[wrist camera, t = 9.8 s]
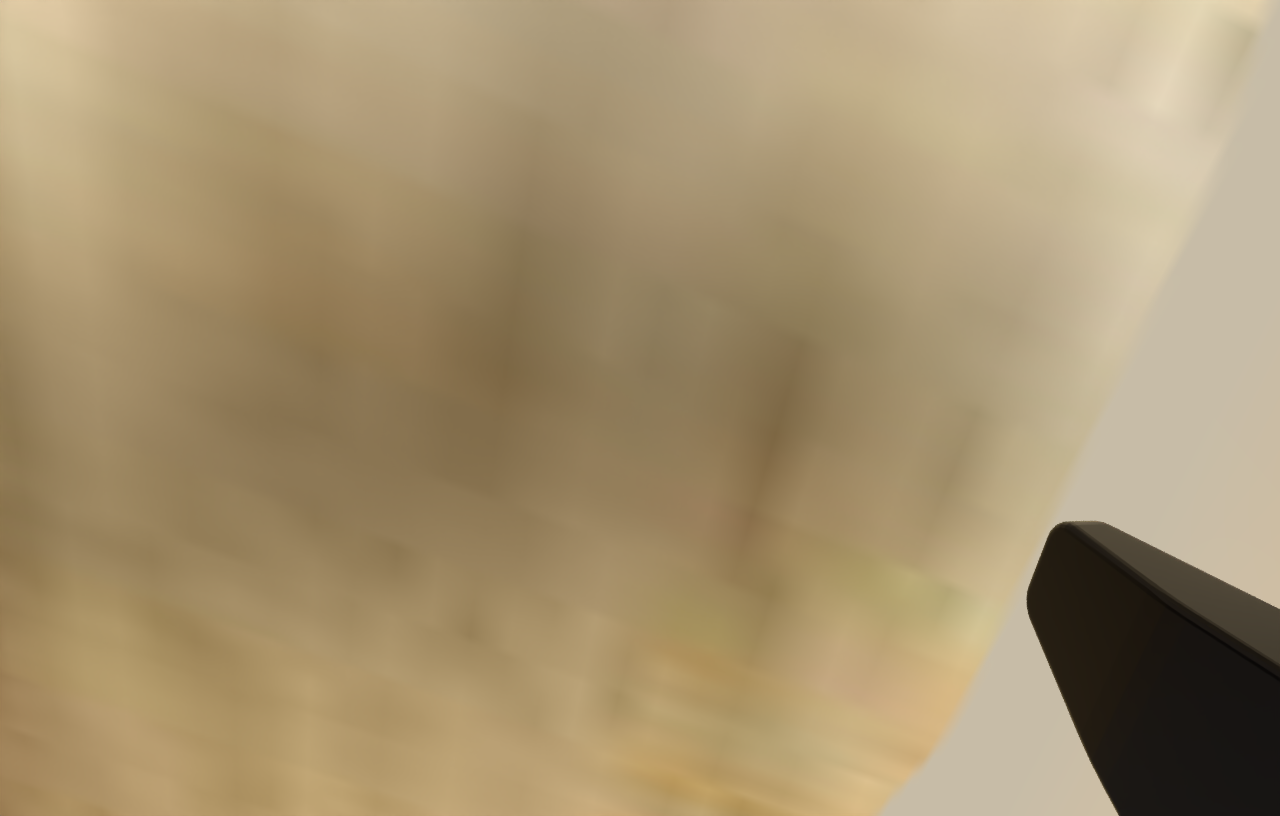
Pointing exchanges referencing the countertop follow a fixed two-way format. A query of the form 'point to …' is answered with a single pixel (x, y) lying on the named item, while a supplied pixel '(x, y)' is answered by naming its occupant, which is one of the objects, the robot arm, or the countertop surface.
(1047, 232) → the countertop surface
